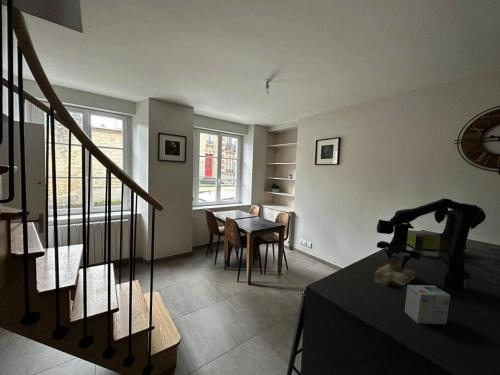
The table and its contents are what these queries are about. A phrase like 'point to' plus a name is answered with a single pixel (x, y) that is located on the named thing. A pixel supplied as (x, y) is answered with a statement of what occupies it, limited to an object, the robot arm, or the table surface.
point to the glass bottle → (448, 233)
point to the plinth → (399, 274)
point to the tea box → (424, 242)
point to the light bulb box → (427, 304)
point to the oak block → (383, 277)
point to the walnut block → (396, 263)
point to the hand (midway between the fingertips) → (396, 266)
